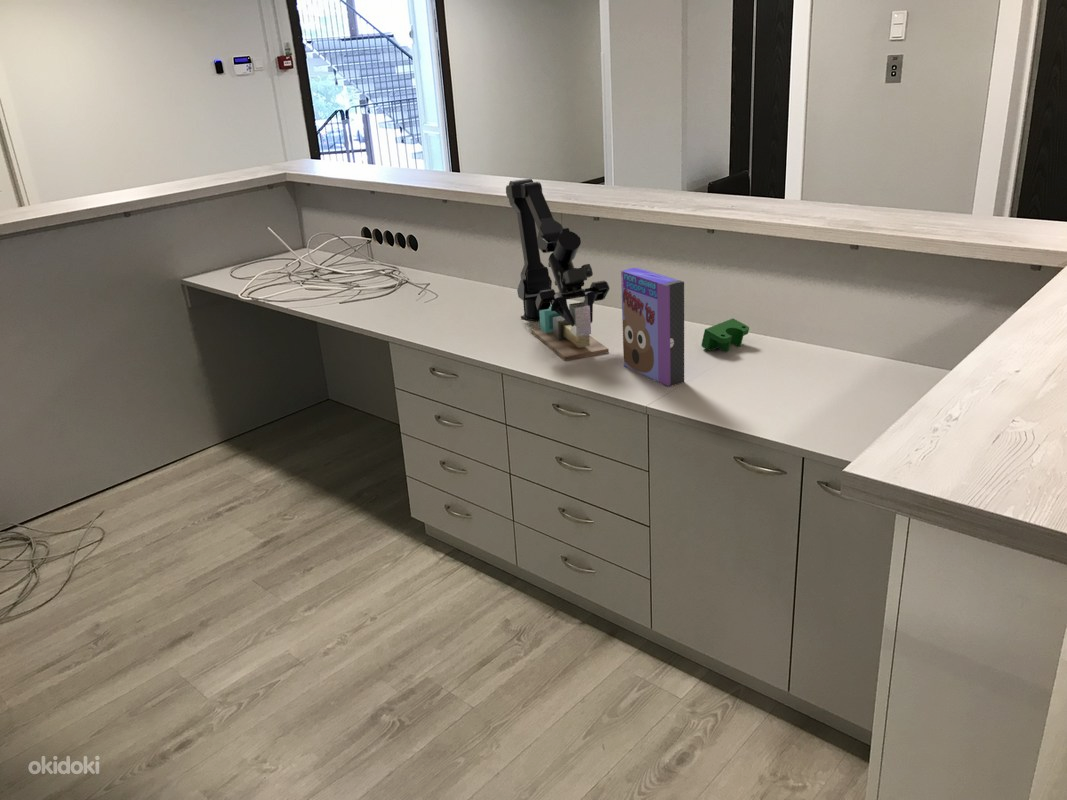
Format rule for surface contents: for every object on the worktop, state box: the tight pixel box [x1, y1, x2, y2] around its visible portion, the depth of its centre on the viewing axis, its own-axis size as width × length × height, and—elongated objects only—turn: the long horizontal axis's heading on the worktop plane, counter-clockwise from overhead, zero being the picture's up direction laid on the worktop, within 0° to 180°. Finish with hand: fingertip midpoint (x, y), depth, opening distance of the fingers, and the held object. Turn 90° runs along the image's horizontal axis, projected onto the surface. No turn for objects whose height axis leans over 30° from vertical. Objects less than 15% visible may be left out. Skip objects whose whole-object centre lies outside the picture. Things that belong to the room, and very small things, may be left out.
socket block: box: [539, 305, 561, 333], centre depth 240 cm, size 4×7×6 cm, turn 110°
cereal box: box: [620, 267, 685, 388], centre depth 204 cm, size 17×5×24 cm, turn 29°
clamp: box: [700, 318, 750, 353], centre depth 221 cm, size 12×6×9 cm, turn 124°
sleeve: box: [553, 316, 568, 341], centre depth 233 cm, size 4×5×5 cm
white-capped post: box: [561, 301, 592, 348], centre depth 227 cm, size 16×4×10 cm, turn 20°
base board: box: [530, 327, 610, 362], centre depth 233 cm, size 26×12×1 cm, turn 20°
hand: (582, 323), depth 221 cm, fingers open, 5 cm apart
